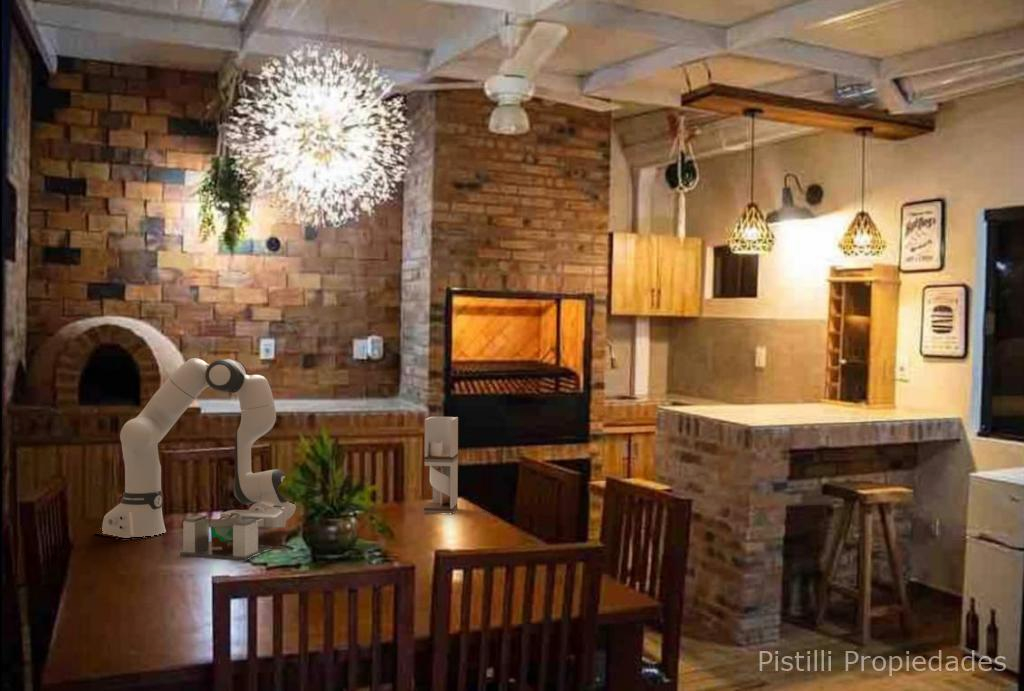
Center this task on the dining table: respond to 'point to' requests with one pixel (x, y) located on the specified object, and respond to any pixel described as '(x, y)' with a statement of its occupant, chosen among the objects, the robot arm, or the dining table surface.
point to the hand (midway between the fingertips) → (238, 523)
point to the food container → (223, 532)
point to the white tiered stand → (442, 463)
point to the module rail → (201, 547)
